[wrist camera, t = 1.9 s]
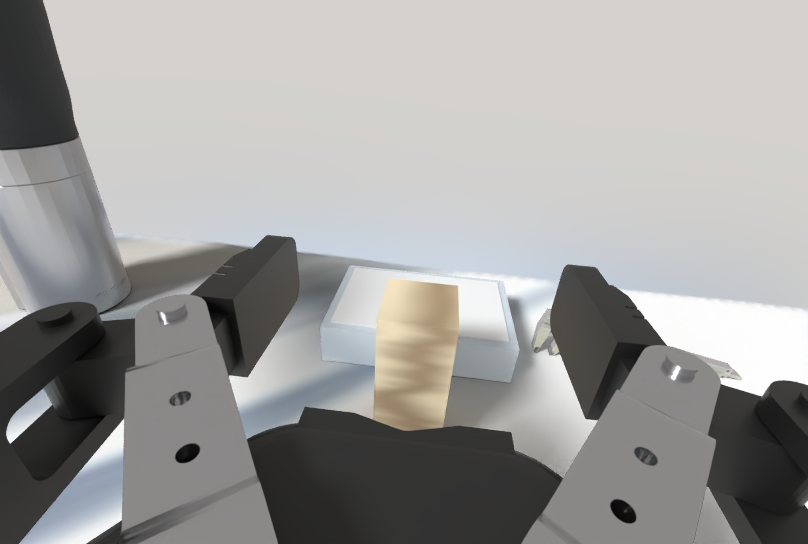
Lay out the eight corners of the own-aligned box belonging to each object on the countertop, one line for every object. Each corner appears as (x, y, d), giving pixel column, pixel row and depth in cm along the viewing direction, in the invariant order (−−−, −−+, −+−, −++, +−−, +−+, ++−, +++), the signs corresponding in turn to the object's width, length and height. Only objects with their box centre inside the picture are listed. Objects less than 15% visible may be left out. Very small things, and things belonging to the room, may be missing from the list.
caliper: (531, 355, 40) (546, 305, 37) (529, 348, 41) (543, 299, 37) (739, 382, 38) (773, 332, 35) (733, 374, 39) (765, 325, 36)
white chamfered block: (321, 359, 37) (319, 324, 35) (350, 293, 47) (350, 263, 45) (510, 382, 36) (520, 348, 34) (497, 309, 46) (503, 279, 44)
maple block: (372, 447, 29) (376, 319, 23) (382, 396, 33) (388, 278, 27) (438, 455, 29) (459, 328, 23) (440, 403, 33) (458, 285, 27)
